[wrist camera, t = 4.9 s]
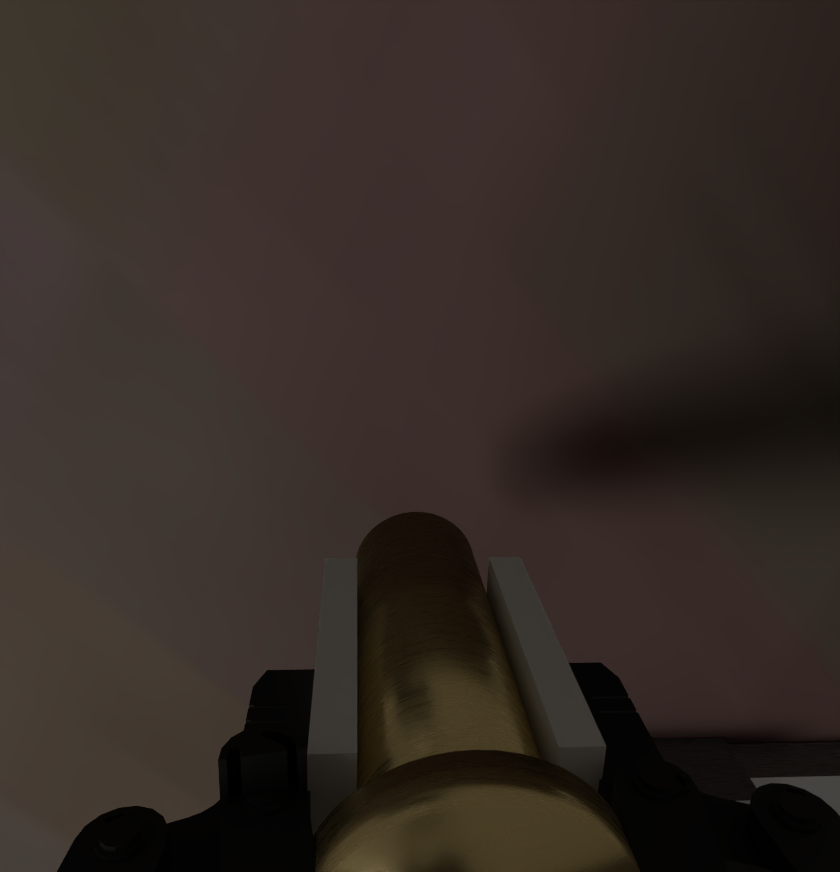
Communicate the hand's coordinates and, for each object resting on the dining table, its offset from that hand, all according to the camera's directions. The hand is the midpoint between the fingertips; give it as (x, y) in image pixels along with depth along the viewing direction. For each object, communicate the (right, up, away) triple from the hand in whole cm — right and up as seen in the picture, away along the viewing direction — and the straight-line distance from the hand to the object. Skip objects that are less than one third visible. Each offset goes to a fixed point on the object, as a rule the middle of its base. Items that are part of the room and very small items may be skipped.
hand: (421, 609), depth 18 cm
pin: (0, +1, +2) cm, 2 cm away
